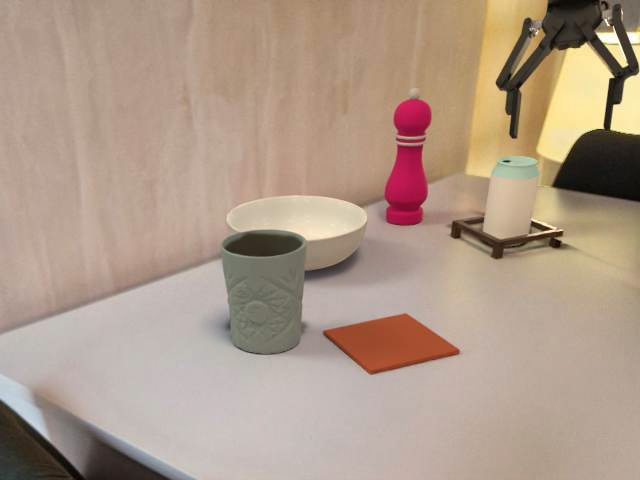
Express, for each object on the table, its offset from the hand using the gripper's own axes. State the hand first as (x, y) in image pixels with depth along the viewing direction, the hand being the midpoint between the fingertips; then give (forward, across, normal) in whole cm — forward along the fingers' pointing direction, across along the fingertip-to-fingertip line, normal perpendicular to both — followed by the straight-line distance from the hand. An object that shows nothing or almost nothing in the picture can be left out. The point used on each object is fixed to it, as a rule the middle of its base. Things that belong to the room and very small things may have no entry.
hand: (558, 132), depth 117 cm
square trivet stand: (+16, -6, -3) cm, 17 cm away
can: (+16, -6, -3) cm, 18 cm away
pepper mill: (+12, -24, 0) cm, 27 cm away
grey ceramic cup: (+34, -25, -47) cm, 63 cm away
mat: (+33, -10, -42) cm, 54 cm away
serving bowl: (+22, -32, -23) cm, 45 cm away
